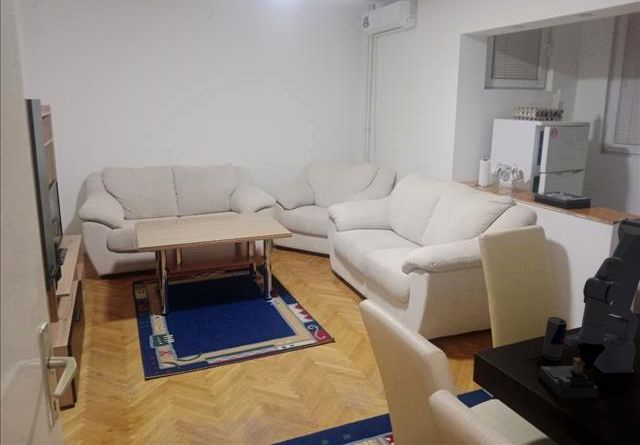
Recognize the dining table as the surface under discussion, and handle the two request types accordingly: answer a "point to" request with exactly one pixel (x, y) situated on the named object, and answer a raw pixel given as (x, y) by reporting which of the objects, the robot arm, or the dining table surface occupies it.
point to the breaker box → (567, 382)
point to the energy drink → (554, 338)
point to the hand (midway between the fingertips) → (586, 367)
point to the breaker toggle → (577, 366)
